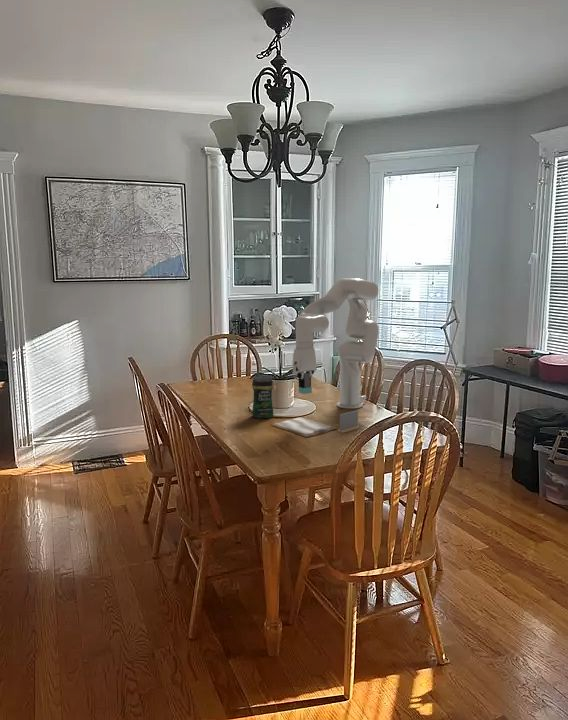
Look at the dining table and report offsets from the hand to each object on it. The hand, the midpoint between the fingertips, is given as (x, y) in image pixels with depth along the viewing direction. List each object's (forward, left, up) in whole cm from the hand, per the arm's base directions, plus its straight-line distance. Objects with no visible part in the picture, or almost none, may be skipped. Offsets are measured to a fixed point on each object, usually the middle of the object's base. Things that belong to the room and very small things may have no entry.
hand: (304, 386), depth 254 cm
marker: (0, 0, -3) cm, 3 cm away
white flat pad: (+5, +5, -16) cm, 18 cm away
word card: (-7, +20, -16) cm, 27 cm away
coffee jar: (+8, -20, -16) cm, 27 cm away
